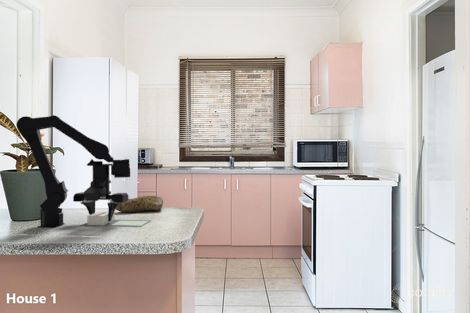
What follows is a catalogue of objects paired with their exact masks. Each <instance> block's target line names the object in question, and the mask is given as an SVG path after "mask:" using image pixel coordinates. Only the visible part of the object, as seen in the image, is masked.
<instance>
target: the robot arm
mask: <svg viewBox="0 0 470 313" xmlns="http://www.w3.org/2000/svg"><path fill="white" fill-rule="evenodd" d="M51 128H55V129H56V130H58V132H60V133H62V134H64V136H66V137H68V138H69V139H71V140H73V141H74V142H76V143H77V144H79V145H81V146H82V147H83V148H84V149H85V150H86V151H87V152H88V153H89V154H90V155H91V156H93V157H94V158H95V159H96V161H95V160H94V159H93V158H91V159H90V161H89V162H88V163H87V164H86V166H88V167H92V181H90V186H89V187H88V188H86V189H85V190H84V191H83V192H82V191H81V192H77V193H74V195H73V198H72V202H74V203H75V202H76V203H77V202H79V203H80V204H81V205H83V206H84V207H85V208H86V210H87V212H88V215H91V214H94V213H96V202H98V201H100V200H101V201H104V200H105V201H109V202H107V207H108V211H107V212H108V221H111V219H112V216H113V214H114V212H115V211H116V207H117V206H118V204H119V203H121V202H125V201H128V200H129V199H130V198H129V194H128V193H127V192H117V193H112V192H111V191H110V184H112V181H111V180H110V175H111V176H114V177H113V178H115V179H116V178H117V179H118V178H120V179H121V178H124V179H125V178H131V168H130V166H131V165H130V159H128V158H124V159H114V157H112V155H111V154H110V150H109V147H108V145H106V144H104V143H102V142H99V141H97V140H95V139H92V138H90V137H88V136H87V135H85V134H84V133H82V132H80V131H79V130H78V129H76V127H73V126H71V125H70V124H69V123H67V122H65V121H64V120H62V119H61V118H60V117H59V116H57V115H51V116H43V117H42V116H41V117H40V116H39V117H31V116H22V117H20V118H19V119H18V120H17V121H16V129H17V130H18V132H19V133H20V135H21V137H22V138H23V139H24V140H25V141H26V143H27V144H28V146H29V148H30V150H31V153H32V155H33V158H34V160H35V162H36V165H37V168H38V170H39V172H40V174H41V177H42V179H43V182H44V188H45V194H46V199H45V200H43V202H42V203H41V204H40V205H39V207H40V211H39V212H40V214H39V215H40V225H38V226H37V228H49V229H51V228H58V227H61V226H63V225H64V226H65V223H64V212H63V208H61V205H62V204H63V203H64V202H65V201H66V200H67V198H68V192H69V190H68V189H67V187H66V184H65V181H64V180H63V181H59V180H60V179H58V177H57V176H56V173H55V171H54V168H53V166H52V163H51V162H50V161H51V160H50V158H49V156H48V154H47V151H46V150H45V147H44V145H43V142H42V135H41V134H42V133H41V130H45V129H51ZM101 160H102V161H101ZM103 160H104V161H105V162H107V163H103ZM110 168H111V169H110ZM110 171H111V172H110ZM110 173H111V174H110Z"/></svg>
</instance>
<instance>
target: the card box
mask: <svg viewBox="0 0 470 313" xmlns="http://www.w3.org/2000/svg"><path fill="white" fill-rule="evenodd" d="M115 217H116V216H115V211H114V214H113V216H112V219H111V221H108V211H97V212H95V213H94V214H91V215H89V214H88V215H87V220H86V223H87V225H105V224H108V223H110V222H112V221H114V220H116V218H115Z"/></svg>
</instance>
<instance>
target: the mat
mask: <svg viewBox="0 0 470 313" xmlns="http://www.w3.org/2000/svg"><path fill="white" fill-rule="evenodd" d="M151 222H152V220H146V219H144V220H142V219H115V220H114V221H112V222H110V223H108V224H105V225H87V222H86V223H82V224H80V225H79V226H81V227H83V226H84V227H114V228H115V227H119V228H142V227H143V226H145V225H147V224H148V223H151Z"/></svg>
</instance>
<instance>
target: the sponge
mask: <svg viewBox="0 0 470 313" xmlns="http://www.w3.org/2000/svg"><path fill="white" fill-rule="evenodd" d="M128 199H129V200H128V201H125V202H121V203H119V204H118V206H117V207H116V209H115V211H118V212H122V213H138V212H142V211H144V212H145V211H155V212H156V211H160V210H162V208H163V203H164V200H163V198H162V197H160V196H156V195H143V196H138V197H133V198H128Z"/></svg>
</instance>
